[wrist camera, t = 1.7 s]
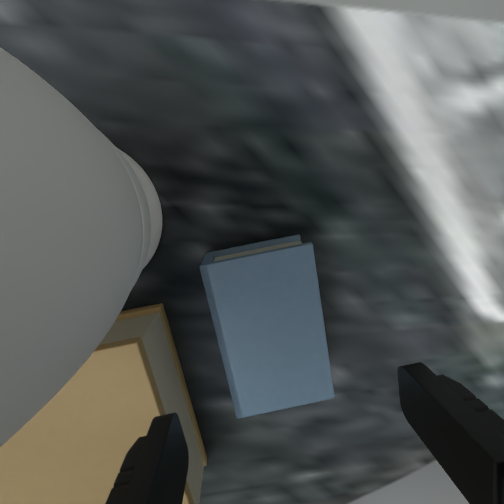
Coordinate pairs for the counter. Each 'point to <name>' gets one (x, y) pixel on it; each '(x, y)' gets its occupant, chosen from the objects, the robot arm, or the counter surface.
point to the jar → (61, 240)
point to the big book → (103, 418)
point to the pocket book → (269, 324)
